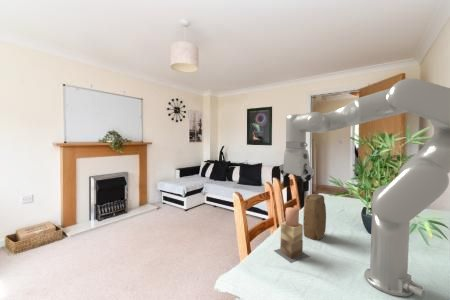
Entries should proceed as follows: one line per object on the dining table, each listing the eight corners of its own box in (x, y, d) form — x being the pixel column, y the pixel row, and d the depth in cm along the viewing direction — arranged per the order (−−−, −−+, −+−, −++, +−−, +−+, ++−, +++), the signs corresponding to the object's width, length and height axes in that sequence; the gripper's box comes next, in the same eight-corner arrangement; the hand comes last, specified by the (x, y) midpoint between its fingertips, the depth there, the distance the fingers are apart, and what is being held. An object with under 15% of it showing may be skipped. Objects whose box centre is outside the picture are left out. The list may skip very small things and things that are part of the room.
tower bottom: (302, 255, 84) (302, 240, 84) (291, 258, 82) (291, 243, 81) (291, 248, 90) (291, 234, 89) (280, 251, 87) (280, 237, 87)
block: (316, 242, 96) (317, 198, 95) (301, 236, 101) (302, 195, 101) (327, 236, 102) (328, 194, 102) (313, 230, 108) (314, 191, 107)
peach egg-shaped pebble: (301, 225, 84) (301, 210, 84) (292, 227, 82) (292, 212, 81) (292, 220, 88) (292, 206, 88) (282, 223, 86) (283, 208, 86)
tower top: (302, 239, 85) (302, 224, 85) (293, 243, 81) (293, 228, 81) (289, 234, 90) (289, 220, 89) (280, 238, 86) (280, 223, 86)
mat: (310, 257, 84) (310, 256, 83) (291, 264, 79) (291, 262, 79) (291, 246, 92) (291, 245, 92) (273, 251, 88) (273, 250, 88)
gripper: (321, 146, 79) (320, 192, 79) (286, 145, 94) (286, 184, 94) (306, 146, 75) (306, 194, 76) (273, 145, 90) (273, 185, 91)
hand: (295, 188), depth 85 cm, fingers open, 9 cm apart
